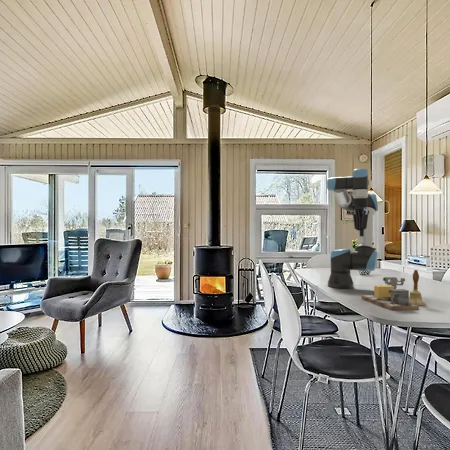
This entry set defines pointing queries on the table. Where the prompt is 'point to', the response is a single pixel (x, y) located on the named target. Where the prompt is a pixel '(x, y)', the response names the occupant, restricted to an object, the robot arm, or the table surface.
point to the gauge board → (393, 300)
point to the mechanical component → (393, 281)
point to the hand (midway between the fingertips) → (360, 242)
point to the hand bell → (416, 291)
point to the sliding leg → (382, 291)
